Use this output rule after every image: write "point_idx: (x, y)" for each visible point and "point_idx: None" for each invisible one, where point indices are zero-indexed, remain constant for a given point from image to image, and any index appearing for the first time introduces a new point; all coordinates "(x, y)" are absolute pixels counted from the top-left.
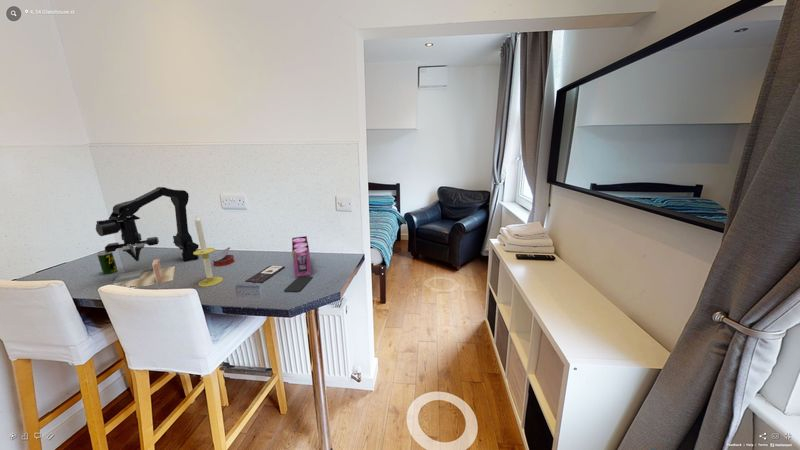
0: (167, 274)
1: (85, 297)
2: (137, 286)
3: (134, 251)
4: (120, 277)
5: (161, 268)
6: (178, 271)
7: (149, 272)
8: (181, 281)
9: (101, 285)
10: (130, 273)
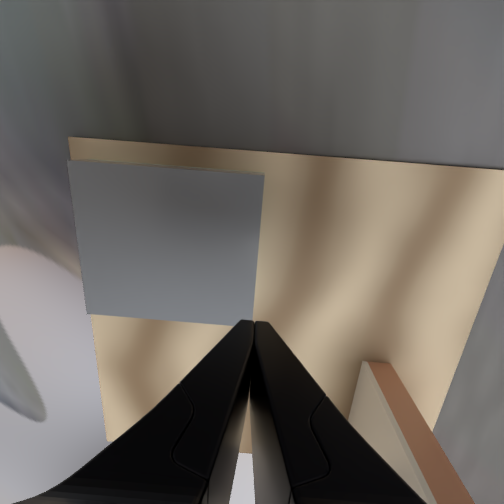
0: (418, 355)
1: (9, 396)
2: (244, 438)
3: (218, 458)
4: (115, 278)
5: (422, 421)
6: (495, 321)
7: (312, 197)
8: None
9: (11, 241)
10: (174, 221)
